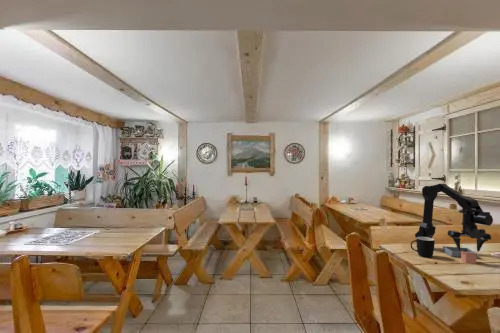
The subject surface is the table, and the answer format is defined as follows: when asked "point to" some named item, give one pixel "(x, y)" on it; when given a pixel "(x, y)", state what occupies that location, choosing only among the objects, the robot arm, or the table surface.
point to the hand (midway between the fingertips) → (468, 250)
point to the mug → (424, 246)
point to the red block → (468, 257)
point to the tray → (456, 251)
